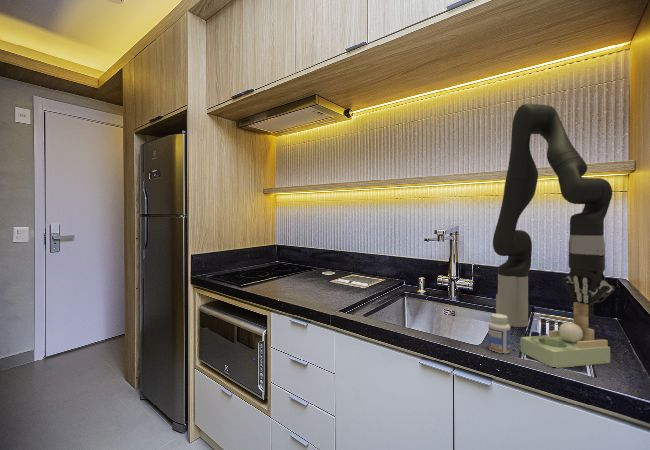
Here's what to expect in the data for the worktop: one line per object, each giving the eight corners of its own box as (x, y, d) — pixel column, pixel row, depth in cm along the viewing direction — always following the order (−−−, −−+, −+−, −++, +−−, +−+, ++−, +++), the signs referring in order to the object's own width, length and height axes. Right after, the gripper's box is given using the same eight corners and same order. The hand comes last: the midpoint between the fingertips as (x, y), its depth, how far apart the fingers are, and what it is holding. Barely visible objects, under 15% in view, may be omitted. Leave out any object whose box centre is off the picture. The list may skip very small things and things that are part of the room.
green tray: (520, 351, 85) (520, 331, 85) (572, 347, 88) (572, 328, 88) (553, 368, 75) (553, 345, 75) (610, 362, 78) (610, 341, 78)
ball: (558, 341, 85) (551, 325, 84) (572, 332, 85) (565, 316, 85) (576, 348, 80) (569, 332, 79) (590, 338, 80) (583, 322, 80)
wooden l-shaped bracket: (568, 335, 86) (568, 300, 86) (571, 335, 86) (572, 300, 86) (590, 343, 80) (590, 306, 80) (594, 343, 80) (594, 306, 80)
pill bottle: (502, 346, 89) (503, 312, 89) (515, 354, 84) (515, 318, 84) (484, 346, 89) (484, 312, 89) (495, 354, 84) (495, 318, 84)
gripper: (552, 250, 89) (551, 310, 89) (601, 254, 76) (600, 325, 76) (573, 249, 90) (573, 309, 90) (625, 254, 77) (625, 323, 77)
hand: (586, 316), depth 83 cm, fingers closed
